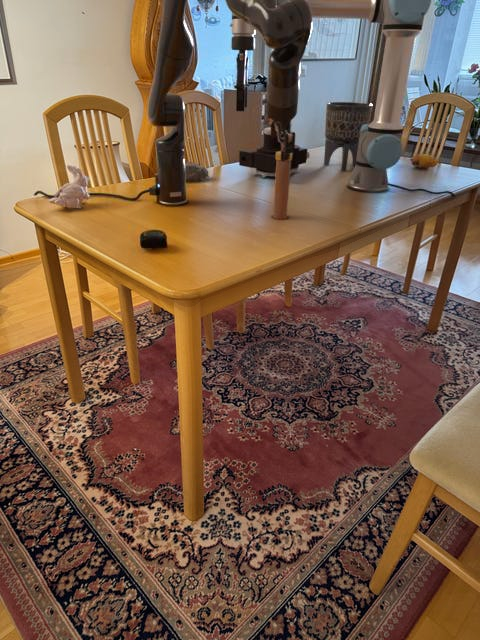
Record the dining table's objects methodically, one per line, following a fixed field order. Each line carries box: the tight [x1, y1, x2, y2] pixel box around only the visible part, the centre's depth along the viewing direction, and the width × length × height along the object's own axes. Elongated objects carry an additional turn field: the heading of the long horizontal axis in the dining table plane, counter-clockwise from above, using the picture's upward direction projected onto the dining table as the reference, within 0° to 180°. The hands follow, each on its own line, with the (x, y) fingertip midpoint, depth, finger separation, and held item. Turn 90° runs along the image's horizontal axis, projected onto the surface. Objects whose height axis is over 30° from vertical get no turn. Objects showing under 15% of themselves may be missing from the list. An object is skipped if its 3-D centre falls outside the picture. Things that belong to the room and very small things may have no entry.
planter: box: [323, 101, 374, 172], centre depth 204 cm, size 20×20×26 cm
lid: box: [276, 151, 292, 161], centre depth 133 cm, size 5×5×2 cm
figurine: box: [48, 164, 91, 209], centre depth 145 cm, size 8×15×13 cm, turn 145°
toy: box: [409, 153, 439, 169], centre depth 213 cm, size 11×6×15 cm
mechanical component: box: [238, 126, 311, 178], centre depth 191 cm, size 22×21×30 cm
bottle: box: [272, 160, 291, 220], centre depth 138 cm, size 4×4×19 cm
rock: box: [185, 160, 210, 183], centre depth 181 cm, size 13×9×6 cm, turn 131°
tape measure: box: [139, 229, 168, 250], centre depth 117 cm, size 7×7×4 cm
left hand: (279, 147), depth 120 cm, fingers open, 8 cm apart
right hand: (241, 109), depth 155 cm, fingers open, 13 cm apart
